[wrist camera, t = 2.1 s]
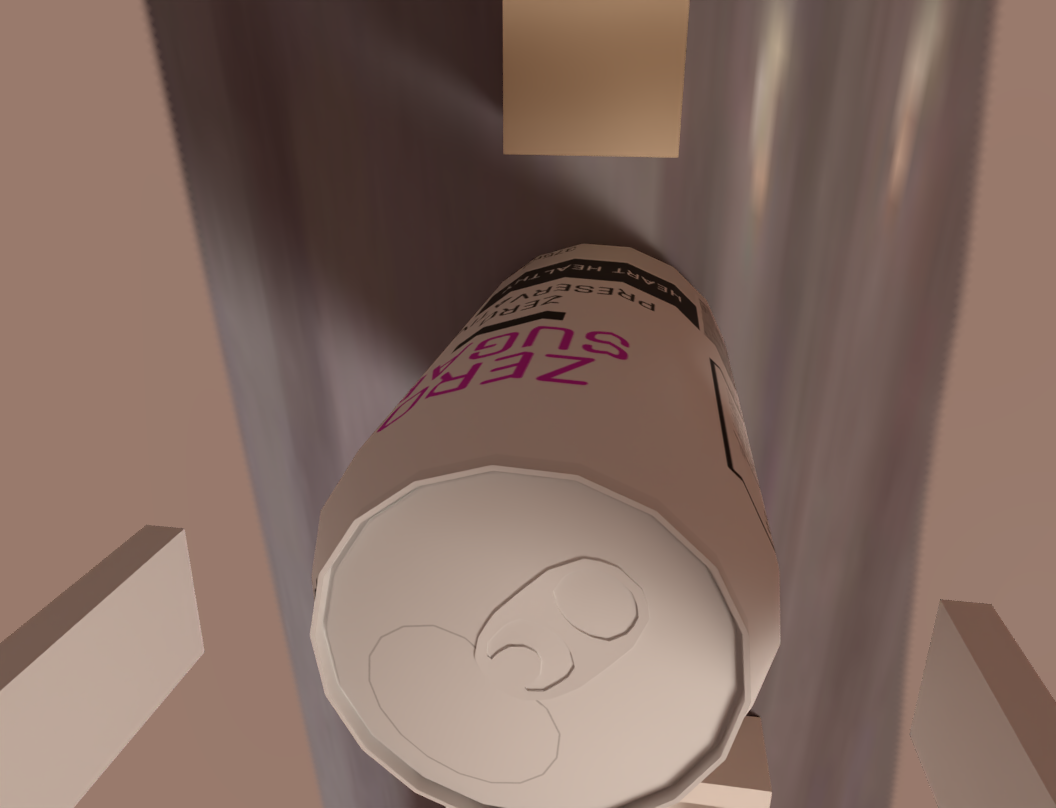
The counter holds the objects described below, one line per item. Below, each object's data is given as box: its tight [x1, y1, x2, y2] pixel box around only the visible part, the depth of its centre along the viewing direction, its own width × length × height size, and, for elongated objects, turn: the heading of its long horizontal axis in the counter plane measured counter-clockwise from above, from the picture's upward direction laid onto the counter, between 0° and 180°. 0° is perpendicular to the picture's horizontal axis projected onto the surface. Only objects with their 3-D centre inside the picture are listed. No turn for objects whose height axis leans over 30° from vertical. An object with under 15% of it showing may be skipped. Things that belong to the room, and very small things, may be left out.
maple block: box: [503, 0, 690, 158], centre depth 20 cm, size 4×4×6 cm
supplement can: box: [310, 244, 780, 808], centre depth 19 cm, size 8×8×15 cm
